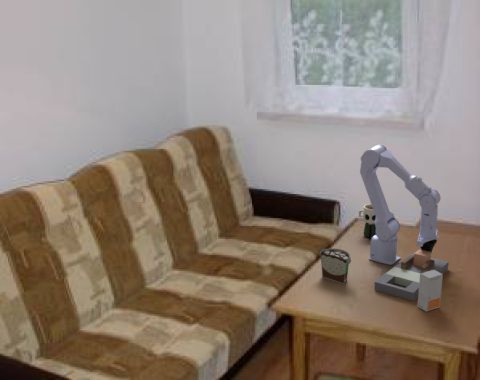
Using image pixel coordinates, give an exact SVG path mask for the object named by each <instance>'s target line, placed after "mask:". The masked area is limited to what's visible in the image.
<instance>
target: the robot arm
mask: <svg viewBox="0 0 480 380" xmlns="http://www.w3.org/2000/svg"><path fill="white" fill-rule="evenodd" d="M360 161H361V162H360V169H359V173H360V174H359V175H360V176H361V180H362V181H363V184H364V188H365V190H366V193H367V196H368V199H369V202H370V204H372V207H373V210H374V213H375V215H376V219H375V226H376V235H374V236H373V237H372V238H371V239H370V243H369V244H370V245H369V247H370V248H369V249H370V250H369V257H368V260H370V261H374V262H377V263H380V264H385V265H388V266H389V265H390V266H392V265H394V264H395V263H397V262H398V261H399V260H400V259H401V258H402V257H401V256H398V255H397V252H398V251H397V250H398V249H397V248H398V235H397V234H398V232H400V229H401V224H400V222H399V221H398V219H396V217H395V214H394V213H393V212H391V211H390V208H389V206H388V203H387V201H386V197H385V194H384V191H383V189H382V186H381V183H380V181H379V178H378V175H377V170H378V169H379V168H386V169H387V168H388V169H389V170H390V171H391V172H392V173H393V174H395V176H397V177H398V178H399V179H400V180H401V181H403V183H404V188H405V189H407V191H409V192H410V193H411V194H412V195H413V196H414V197H415V198H416V199H417V200H418V201H419V202H418V203H419V206H420V207H421V211H420V223H419V234H418V239H417V240H416V246H417V247H420V250H424V251H429V252H431V254H432V252H433V250H434V247H435V245H436V244H437V240H439V239H440V236H439V229H437V225H438V212H439V211H438V207H439V205H438V204H440V202H441V194H440V193H439V191H438V190H437V189H435V188H432V187H429V186H428V185H427V184H426V183H425V182H424V181H423V178H422V177H421V176H418V175H413V174H411V173H409V171H408V170H407V169H406V168H405V167H404V166H403V165H402V163H400V162H399V161H398V159H397V158H396V157H395V156H394V155H393V153H392V151H390V150H389V149H387V147H386V146H385V145H383V144H376V145H374V146H372V147H370V148H369V149H367V150H365V151H364V152H363V154H362V155H361V156H360Z"/></svg>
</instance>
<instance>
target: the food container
mask: <svg viewBox="0 0 480 380" xmlns="http://www.w3.org/2000/svg"><path fill="white" fill-rule="evenodd" d="M318 256H320V264H321V277H322V278H325V279H327V280H330V281H334V282H336V283H338V284H339V283H340V284H343V285H345V284H347V282H348V276H349V275H348V274H349V265H350V264H351V262H352V259H351V254H350V253H349V252H348V251H346V250H344V249H341V248H325V249H321V250H320V252H319V255H318Z"/></svg>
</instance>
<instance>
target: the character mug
mask: <svg viewBox="0 0 480 380" xmlns="http://www.w3.org/2000/svg"><path fill="white" fill-rule="evenodd" d="M362 213H363V214H362ZM358 217H360V218H362V219H363V221H364V222H365V224H364V229H363V236H364V237H367V238H371V239H372V237H373V236H374V235H376V226H375V219H376V215H375V213H374V210H373V207H372V204H371V203H369V204H364V205H363V208H362V209H359V210H358Z"/></svg>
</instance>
